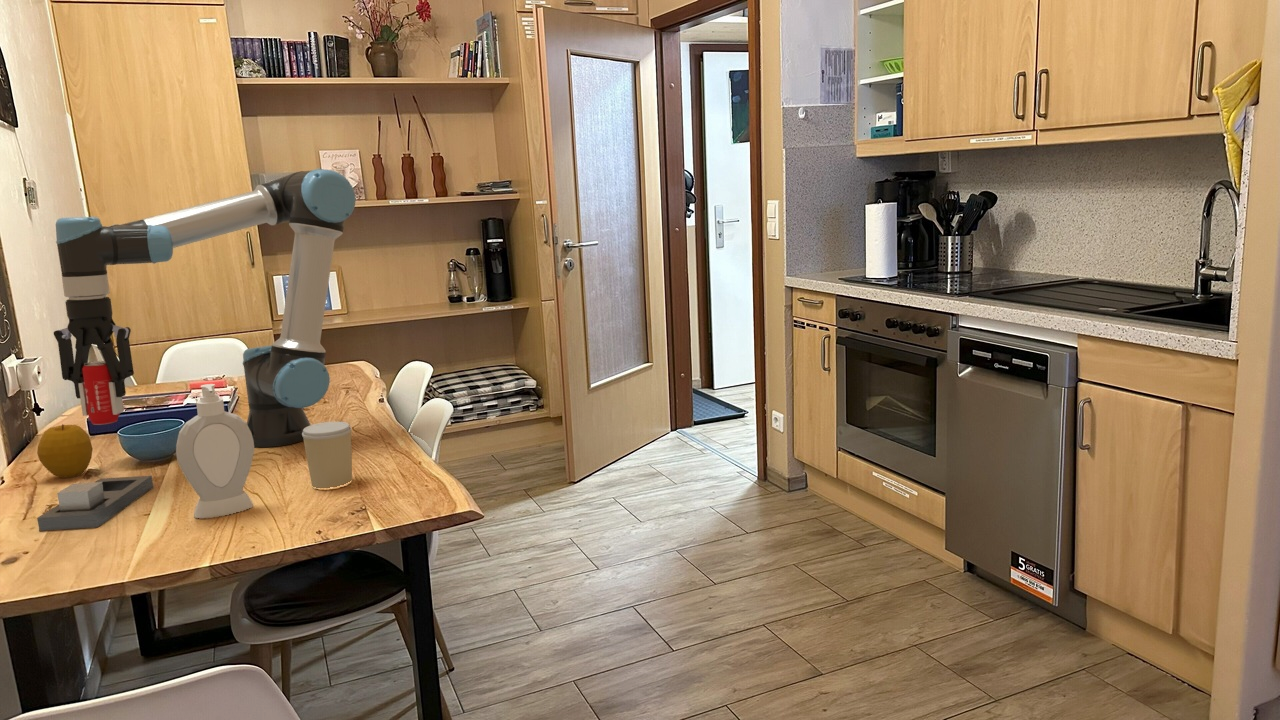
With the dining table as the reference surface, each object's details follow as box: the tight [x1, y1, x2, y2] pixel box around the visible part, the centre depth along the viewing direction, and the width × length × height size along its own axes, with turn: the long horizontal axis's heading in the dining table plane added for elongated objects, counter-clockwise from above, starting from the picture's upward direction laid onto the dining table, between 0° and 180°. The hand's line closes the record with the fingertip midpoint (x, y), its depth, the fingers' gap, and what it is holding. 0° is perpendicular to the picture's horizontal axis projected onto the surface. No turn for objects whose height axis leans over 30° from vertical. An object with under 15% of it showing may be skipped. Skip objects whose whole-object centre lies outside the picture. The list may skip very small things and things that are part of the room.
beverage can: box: [82, 360, 120, 426], centre depth 173 cm, size 5×5×12 cm
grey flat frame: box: [36, 475, 154, 532], centre depth 166 cm, size 10×22×6 cm, turn 5°
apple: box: [36, 423, 93, 479], centre depth 186 cm, size 10×10×12 cm
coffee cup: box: [302, 421, 353, 488], centre depth 175 cm, size 9×9×12 cm
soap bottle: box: [175, 383, 255, 520], centre depth 159 cm, size 13×8×24 cm, turn 122°
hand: (103, 413), depth 174 cm, fingers closed on beverage can, 5 cm apart
